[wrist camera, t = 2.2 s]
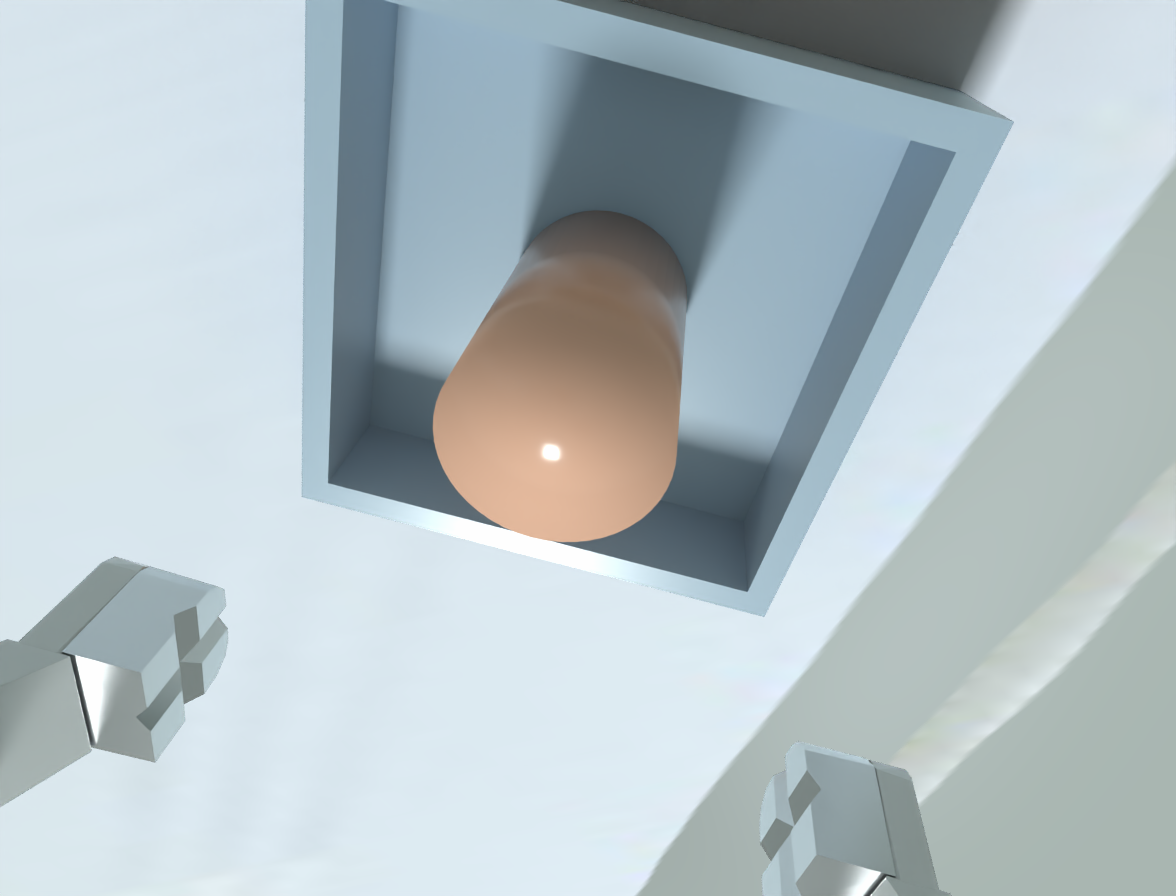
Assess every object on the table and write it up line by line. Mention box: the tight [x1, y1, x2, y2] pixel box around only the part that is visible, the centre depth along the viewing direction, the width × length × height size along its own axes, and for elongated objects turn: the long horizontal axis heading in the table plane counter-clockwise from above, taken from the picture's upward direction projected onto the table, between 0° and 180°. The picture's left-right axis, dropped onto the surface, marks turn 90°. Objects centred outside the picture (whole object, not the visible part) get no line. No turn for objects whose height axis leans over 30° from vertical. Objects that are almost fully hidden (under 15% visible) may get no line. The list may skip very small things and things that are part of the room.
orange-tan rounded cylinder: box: [433, 210, 687, 542], centre depth 19 cm, size 5×5×8 cm
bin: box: [302, 0, 1014, 617], centre depth 21 cm, size 15×15×4 cm
